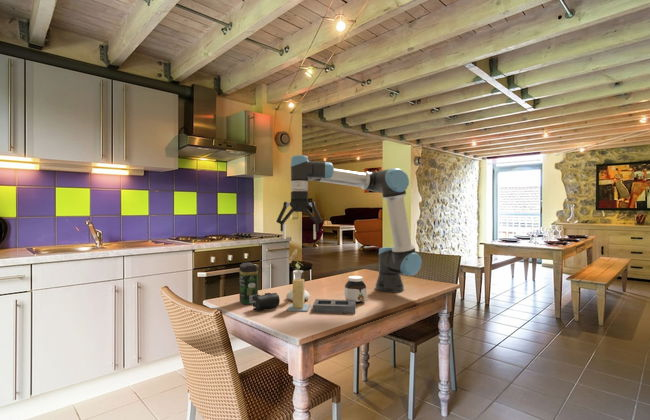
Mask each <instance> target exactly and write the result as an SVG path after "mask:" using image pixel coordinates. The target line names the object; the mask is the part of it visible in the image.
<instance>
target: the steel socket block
mask: <svg viewBox="0 0 650 420" xmlns="http://www.w3.org/2000/svg"><path fill="white" fill-rule="evenodd" d="M356 307H357V306H356V300H346V299H328V298H327V299H324V298H321V299H320V298H316V299H314V302H313V303H312V313H323V314H325V313H326V314H349V315H350V314H352V315H353V314H354V315H355V314H356V309H357V308H356Z"/></svg>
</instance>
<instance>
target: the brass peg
mask: <svg viewBox="0 0 650 420" xmlns="http://www.w3.org/2000/svg"><path fill="white" fill-rule="evenodd" d="M292 289H293V300H292V304H293V308H297V309H303V307H304V304H305V300H304V290H305V278H301V279H296V278H294V279H293V280H292Z"/></svg>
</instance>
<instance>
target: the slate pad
mask: <svg viewBox="0 0 650 420" xmlns="http://www.w3.org/2000/svg"><path fill="white" fill-rule="evenodd" d="M310 307H311V304H307V303H304V307H303V309H297V308H293V303H290V304H289V306H287V308H286V312H303V313H304V312H307V313H308V312H309V309H310Z"/></svg>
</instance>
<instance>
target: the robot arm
mask: <svg viewBox="0 0 650 420" xmlns="http://www.w3.org/2000/svg"><path fill="white" fill-rule="evenodd" d="M310 181H313V182H320V183H321V182H322V183H328V184H335V185H336V184H337V185H343V186H350V187H355V188H357V187H358V188H361V190H362V191H363V190H364V191H365V190H366V191H371V192H375V193H380V194H382V198H383V199H384V200H386V201H385V202H386V206H387V211H388V218H389V224H390V230H391V236H392V242H393V246H389V247H380V248H379V249H378V276H377V279H376V282H375V290H376V291H379V292H383V293H385V292H386V293H399V292H403V291H404V290H405V289H404V283H403V279H402V277H401V275H404V276H415V275H417V273H419V272H420V270H421V267H422V264H423V260H422V257H421V256H420V255H419V254H418V253H416V247H415V245H414V244H412V242H411V235H410V230H409V224H408V223H409V221H408V217H407V211H406V209H407V208H406V204H405V197H406V195H407V191H406V190H407V189H408V187H409V184H410V179H409V177H408V174H407V173H406V172H405V171H404V170H403V169H401V168H397V167H396V168H390V169H389V168H387V169H383V170H376V171H364V172H360V171H352V170H348V169H347V170H346V169H341V168H340V169H339V168H335V167H334V165H333V163H332V162H329V161H313V160H309V157H308V156H307V155H302V154H299V155H297V154H296V155H293V156H291V159H290V190H291V191H290V202H287V201H284V202H283V206H282V208H281V211H280V213H279V214H278V217H277V219H276V224H277V223H278V224H279V225H280V232H282V239H283V240H285V239H287V236H286V235H287V231H286V230H287V227H286V226H287V225H286V222H287V220H289V218H290V217H291V216H292V214H293V213H294V212H295V213H299V212H300V213H304V212H305V213H306V215H307V216H308V217H309V218H310V219H311V220H312V222H313V223H314V224H313V240H316V239H317V233H318V232H319V224H321V223H323V219H322V216H321V215H320V213H319V211H318V209H317V206H316V202H315V201H312V202H309V193H308V191H309V182H310ZM309 206H310V207H311V208H312V210H313V212H314V214H315V216H316V217H315V216H314V215H313V214H312V213H311V211H310V210H309V209H308V207H309ZM289 207H291V208H290V210H289V211H288V212H287V214H286V215H285V213H286V210H287V208H289ZM284 215H285V216H284ZM283 216H284V217H283ZM316 218H317V219H316Z"/></svg>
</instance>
